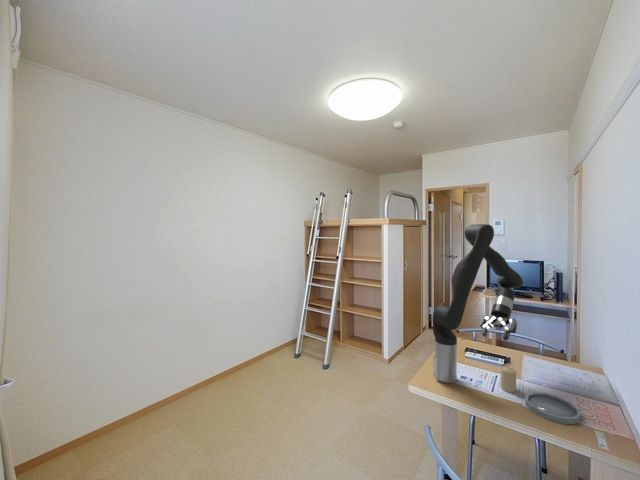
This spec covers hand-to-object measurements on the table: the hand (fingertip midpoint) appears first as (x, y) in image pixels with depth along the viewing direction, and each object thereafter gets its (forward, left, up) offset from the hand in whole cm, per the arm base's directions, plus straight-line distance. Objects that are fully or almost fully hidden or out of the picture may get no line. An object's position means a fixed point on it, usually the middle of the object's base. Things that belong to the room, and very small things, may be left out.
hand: (494, 337), depth 126 cm
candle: (+4, -4, -21) cm, 22 cm away
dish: (+13, -17, -21) cm, 30 cm away
